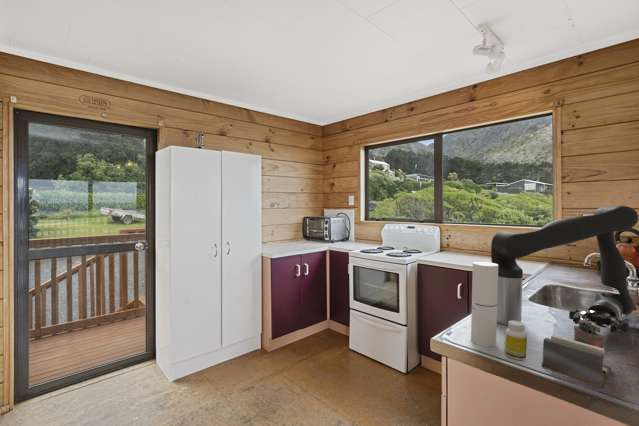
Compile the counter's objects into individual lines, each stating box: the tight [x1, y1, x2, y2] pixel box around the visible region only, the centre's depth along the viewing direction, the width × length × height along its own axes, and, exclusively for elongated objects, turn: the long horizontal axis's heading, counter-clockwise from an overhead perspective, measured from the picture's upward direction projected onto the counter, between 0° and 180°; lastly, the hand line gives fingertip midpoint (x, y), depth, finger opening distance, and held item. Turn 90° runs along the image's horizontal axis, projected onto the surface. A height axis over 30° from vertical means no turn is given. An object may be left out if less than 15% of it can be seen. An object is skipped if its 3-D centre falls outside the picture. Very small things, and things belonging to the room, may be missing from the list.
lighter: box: [573, 320, 604, 348], centre depth 92 cm, size 8×3×10 cm, turn 4°
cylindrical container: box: [470, 261, 498, 348], centre depth 101 cm, size 7×7×25 cm
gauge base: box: [541, 337, 612, 388], centre depth 86 cm, size 12×12×8 cm
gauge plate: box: [550, 334, 606, 374], centre depth 85 cm, size 2×12×6 cm, turn 40°
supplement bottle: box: [504, 320, 528, 361], centre depth 93 cm, size 5×5×10 cm
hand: (593, 324), depth 98 cm, fingers open, 8 cm apart
